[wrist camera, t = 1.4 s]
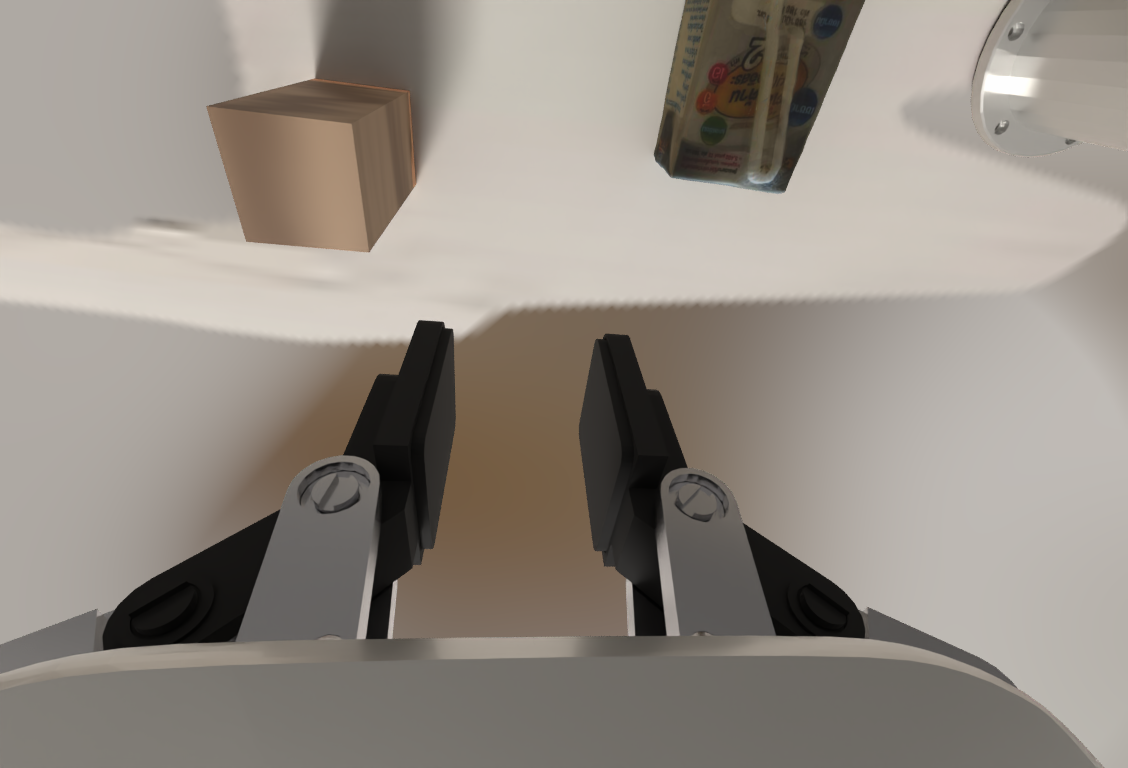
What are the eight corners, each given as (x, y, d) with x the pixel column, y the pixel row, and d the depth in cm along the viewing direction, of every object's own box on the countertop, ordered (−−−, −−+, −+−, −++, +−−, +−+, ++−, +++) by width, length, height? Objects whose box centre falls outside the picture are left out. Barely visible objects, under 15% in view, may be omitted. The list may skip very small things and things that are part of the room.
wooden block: (409, 91, 29) (351, 123, 19) (415, 184, 32) (369, 252, 22) (315, 78, 28) (206, 106, 18) (331, 175, 31) (246, 241, 22)
